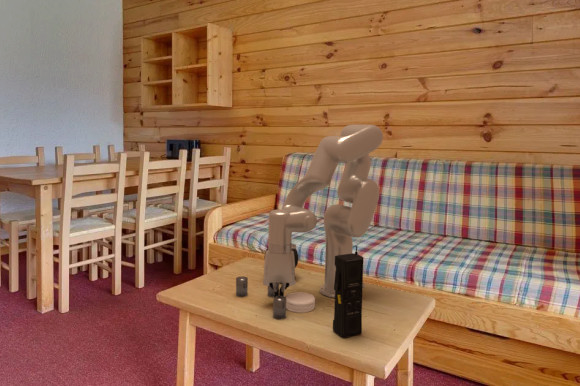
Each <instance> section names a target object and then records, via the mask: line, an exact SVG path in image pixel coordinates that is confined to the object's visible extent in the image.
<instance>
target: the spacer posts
mask: <svg viewBox="0 0 580 386" xmlns="http://www.w3.org/2000/svg"><path fill="white" fill-rule="evenodd" d="M248 281H249V280H248V277H247V276H241V275H240V276H237V277H236V278H235V296H237V297H240V298H244V297H247V296H248V291H249V290H248V288H249V287H248V285H249V283H248ZM277 287H278V289H280V284H279V283H277ZM267 297H268V298H269V297H270V298H273V299H272V300H273V301H272V302H273V303H272V304H273V305H272V317H273V319H275V320H284V319H286V317H287V309H286V297H285V296H275V291H274V290H273V289H272V288H271V287H270V286H267Z"/></svg>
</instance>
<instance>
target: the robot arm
mask: <svg viewBox="0 0 580 386" xmlns="http://www.w3.org/2000/svg"><path fill="white" fill-rule="evenodd" d="M383 140H384V134H383V131H382V129H381V128H380V127H378V125H375V124H349V125H348V124H347V125H346V126H344V127H343V128H342V130H341V131H340V136H339V135H328V136H325V137H323V138H322V139H321V140H320V142H319V143H318V146H317V148H316V150H315V152H314V155H313V157H312V160H311V162H310V164H309V166H308V168H307V171H306V174H305V175H304V176H303V177H302V178H301V179H300V180H299V181H298V182H297V183H296V184H295V185H294V186H293V187H292V188H291V189H290V191H289V193H288V194H287V196H286V197H285V200H284V202H283V204H282V207H281V209H273V210H271V211H270V212H269V213H268V242H267V243H268V245H267V246H268V247H267V248H268V250H267V249H266V250H267V251H266V250H265V252H266V254H265V253H264V257H265V259H264V262H263V263H264V265H263V281H262V285H264V286H267V287H268V286H270V287H271V288H272V289H273V290H274V291H275V296H284V294H285V291H286V290H287V289H288V288H289V287H293V286H295V285H296V280H295V276H296V268H295V259H294V252H293V251H291V250H292V249H296V250H297V244H294V243H292V241H293V240H292V239H293V235H292V233H308V232H311V231H313V230H314V229H315V228H316V227H317V223H318V218H317V216H316V214H315V212H313V211H312V210H311V209H310V210H309V209H307V208H304V207H303V206H304V204H305V203H306V201H307V200H308V198H310V197H311V196H312V195H314V194H315V193H317V192H319V191H322V190H324V189H325V188H328V186H329V185H330V184H331V181H332V179H333V176H334V174H335V171H336V169H337V166H338V164H339V163H343V164H345V167H344V170H343V172H342V175H341V177H340V181H339V183H338V187H337V190H336V191H337V197H338V198H339V199H340V200H341V201H343V202H345V203H349V204H352V205H351V206H347V205H343V204H338V203H337V204H333V205H330V206H328V208H326V210H325V212H324V215H323V227H324V234H325V254H324V255H325V259H324V260H325V262H324V284H322V285H321V286H320V287H319V292H320V293H321V294H322V295H324V296H325V297H328V298H332V299H335V290H334V282H335V271H336V266H335V256H337V255H344V254H351V253H353V251H354V249H353V247H354V246H353V245H354V244H353V239H352V238H360V237H362V236H364V235H365V234H366V233H367V232H368V230H369V228H370V225H371V223H372V219H374V218H373V217H374V215H375V211H376V208H377V206H378V202H379V199H380V188H379V185H378V183H377V182H376V181H375V180H374V179H371V178H368V177H369V173H370V170H371V166H372V161H371V160H372V159H371V157H370V154H371V153H373V152H375V151H376V150H377V149H378V148H379V147H380V146H381V145H382V142H383ZM277 283H282V284H281V285H280V287H279V289H278V287H277ZM365 288H366V286H365V282H363V287H362V289H365ZM284 297H285V296H284Z"/></svg>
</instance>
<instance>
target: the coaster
mask: <svg viewBox="0 0 580 386" xmlns="http://www.w3.org/2000/svg"><path fill="white" fill-rule="evenodd" d="M284 297H286V311H287V310H288V311H289V312H292V313H300V314H301V313H309V312H311V311H313V310H315V307H316V297H315V296H314V295H313V294H311V293H308V292H303V291H301V292H300V291H296V292H291V293H288V294H286V295H285V296H284Z"/></svg>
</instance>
